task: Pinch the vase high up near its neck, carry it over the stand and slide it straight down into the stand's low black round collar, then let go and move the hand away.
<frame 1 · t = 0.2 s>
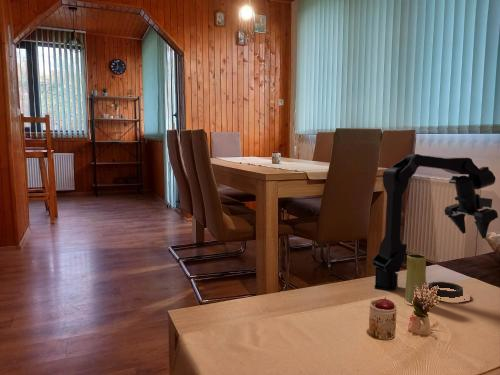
hand: (473, 235, 144), 15 cm above the table, tool pointing down, fingers open, 9 cm apart
vase: (415, 303, 122), on the table
stand: (445, 295, 129), on the table
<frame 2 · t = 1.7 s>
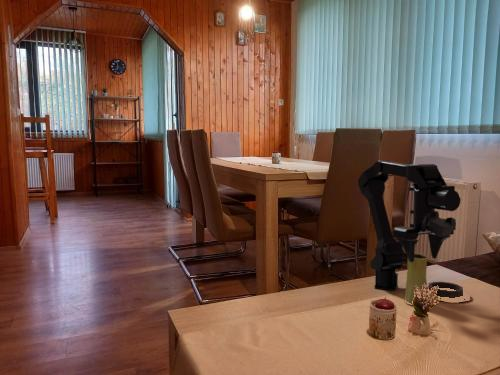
hand: (423, 260, 121), 13 cm above the table, tool pointing down, fingers open, 9 cm apart
nothing on the table moved.
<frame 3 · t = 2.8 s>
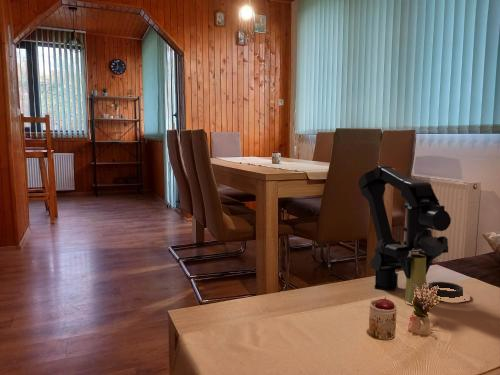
hand: (416, 277, 121), 8 cm above the table, tool pointing down, fingers closed on vase, 5 cm apart
vase: (415, 303, 122), on the table, touching gripper
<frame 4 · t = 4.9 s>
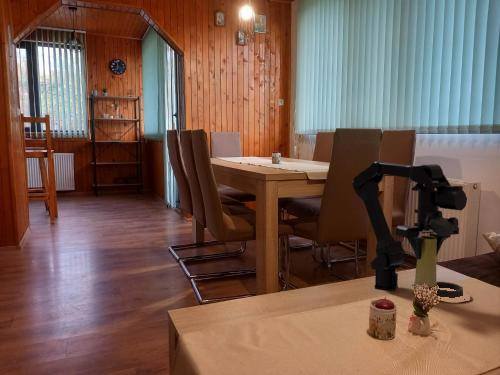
hand: (426, 258, 123), 13 cm above the table, tool pointing down, fingers closed on vase, 5 cm apart
vase: (425, 284, 124), point 5 cm above the table, touching gripper
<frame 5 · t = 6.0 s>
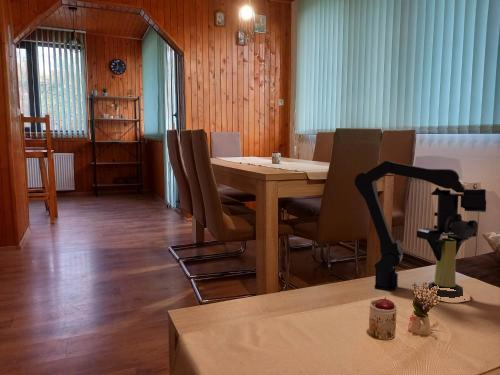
hand: (445, 259, 128), 11 cm above the table, tool pointing down, fingers closed on vase, 5 cm apart
vase: (444, 285, 128), point 3 cm above the table, touching gripper
when the fingers open (10 cm above the table, at t = 6.7 s): vase stays where it is, resting on stand.
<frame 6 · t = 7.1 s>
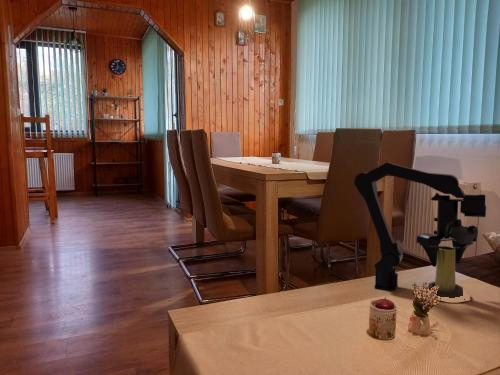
hand: (445, 265, 128), 10 cm above the table, tool pointing down, fingers open, 9 cm apart
vase: (444, 293, 128), point 1 cm above the table, touching stand
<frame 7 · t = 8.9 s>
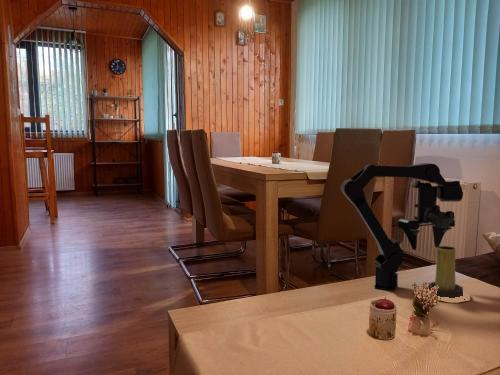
hand: (425, 248, 136), 13 cm above the table, tool pointing down, fingers open, 9 cm apart
nothing on the table moved.
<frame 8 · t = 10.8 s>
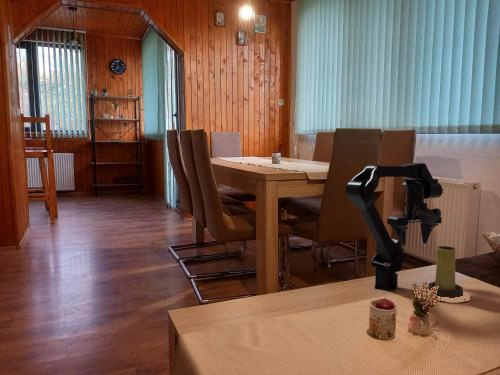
hand: (414, 244, 142), 13 cm above the table, tool pointing down, fingers open, 9 cm apart
nothing on the table moved.
at the end: vase 0.2 cm off-centre on the stand, point 0.6 cm above the stand's base; vase tilted 0°; the gripper is holding nothing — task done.
